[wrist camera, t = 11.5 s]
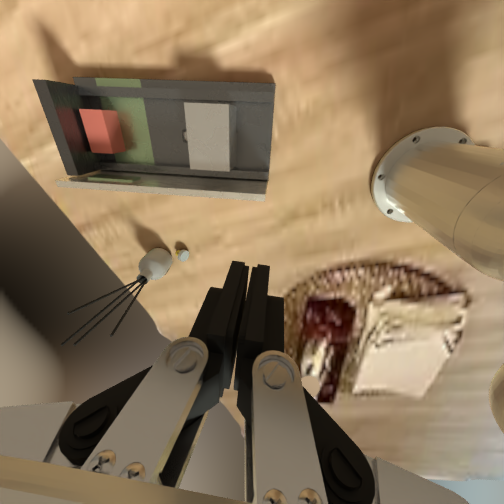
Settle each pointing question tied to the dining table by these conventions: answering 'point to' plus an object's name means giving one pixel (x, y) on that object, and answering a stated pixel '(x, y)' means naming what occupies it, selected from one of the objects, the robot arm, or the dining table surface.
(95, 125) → the salmon pink rectangular block
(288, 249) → the dining table surface
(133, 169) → the grey compartment tray
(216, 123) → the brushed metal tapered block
